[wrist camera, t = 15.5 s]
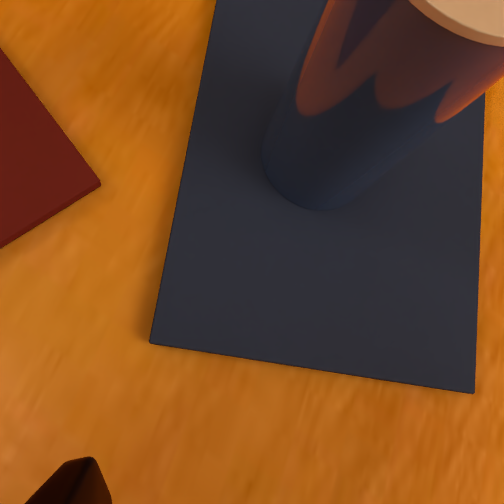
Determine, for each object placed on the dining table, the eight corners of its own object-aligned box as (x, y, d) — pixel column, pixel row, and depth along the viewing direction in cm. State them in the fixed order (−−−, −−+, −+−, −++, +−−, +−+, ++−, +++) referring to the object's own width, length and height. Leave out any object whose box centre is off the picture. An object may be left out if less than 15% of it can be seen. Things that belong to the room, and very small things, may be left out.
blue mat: (466, 393, 21) (475, 394, 21) (148, 343, 19) (148, 342, 19) (480, 44, 25) (487, 37, 25) (222, -26, 23) (223, -35, 23)
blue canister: (333, 237, 21) (542, 89, 9) (234, 162, 21) (322, -79, 9) (393, 149, 22) (638, -72, 11) (301, 79, 22) (449, -219, 11)
